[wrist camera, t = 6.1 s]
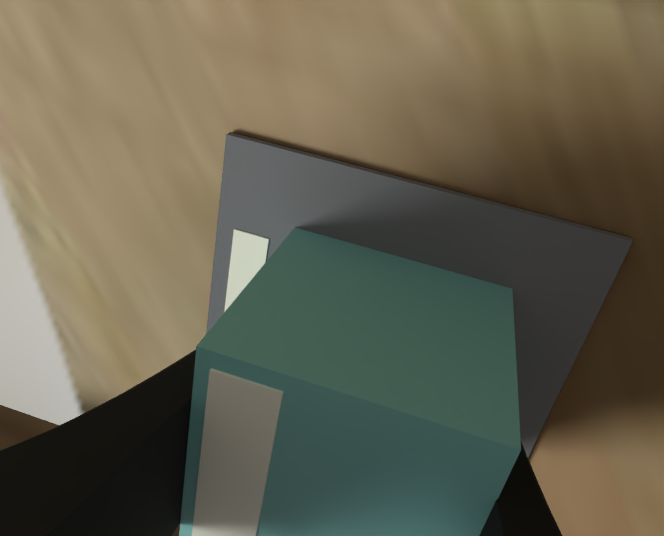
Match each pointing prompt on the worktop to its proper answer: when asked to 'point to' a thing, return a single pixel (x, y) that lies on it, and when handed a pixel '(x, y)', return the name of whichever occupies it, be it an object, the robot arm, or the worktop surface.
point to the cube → (352, 399)
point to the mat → (423, 249)
